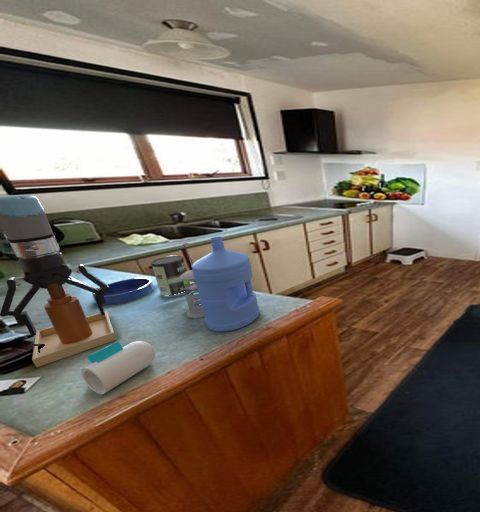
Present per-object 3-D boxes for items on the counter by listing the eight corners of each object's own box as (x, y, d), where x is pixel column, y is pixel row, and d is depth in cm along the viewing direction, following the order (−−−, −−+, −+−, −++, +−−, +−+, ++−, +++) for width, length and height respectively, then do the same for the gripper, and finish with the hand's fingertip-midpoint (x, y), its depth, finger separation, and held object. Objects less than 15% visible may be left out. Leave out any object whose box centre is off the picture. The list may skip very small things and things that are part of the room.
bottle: (61, 347, 76) (33, 289, 71) (61, 338, 80) (34, 283, 75) (93, 336, 81) (69, 281, 75) (91, 328, 85) (69, 276, 79)
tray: (36, 367, 70) (32, 359, 69) (39, 338, 82) (36, 331, 81) (116, 339, 80) (113, 332, 79) (109, 317, 92) (106, 310, 92)
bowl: (97, 311, 96) (93, 301, 95) (94, 296, 107) (90, 287, 106) (158, 294, 108) (155, 285, 107) (149, 282, 119) (146, 274, 118)
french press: (179, 314, 93) (159, 245, 85) (211, 299, 103) (195, 236, 95) (199, 320, 90) (179, 248, 82) (229, 304, 100) (215, 238, 92)
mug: (146, 327, 68) (85, 358, 58) (166, 356, 70) (110, 392, 59) (123, 335, 73) (62, 366, 62) (142, 363, 75) (86, 398, 64)
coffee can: (195, 285, 116) (187, 254, 112) (186, 295, 107) (177, 262, 102) (167, 288, 113) (157, 256, 109) (155, 299, 104) (144, 265, 100)
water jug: (197, 335, 82) (172, 246, 72) (219, 309, 96) (200, 233, 87) (252, 330, 84) (234, 243, 75) (265, 305, 98) (251, 230, 89)
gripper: (-48, 271, 61) (-3, 349, 68) (105, 246, 79) (129, 310, 86) (-40, 264, 66) (1, 338, 73) (103, 242, 83) (125, 303, 90)
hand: (70, 323), depth 79 cm, fingers open, 13 cm apart
